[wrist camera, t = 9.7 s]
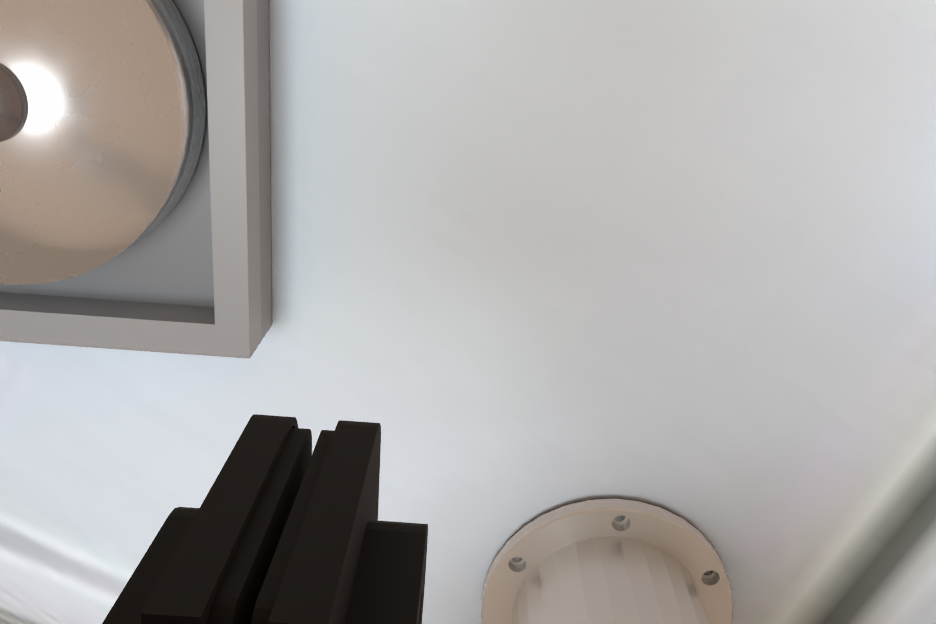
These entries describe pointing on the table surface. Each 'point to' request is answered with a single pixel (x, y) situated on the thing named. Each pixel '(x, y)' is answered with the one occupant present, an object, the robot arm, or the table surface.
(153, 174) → the dial
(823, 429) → the table surface
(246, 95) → the tray
